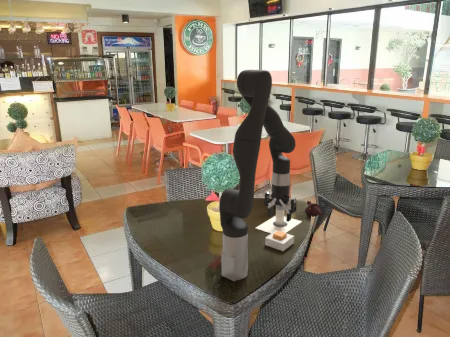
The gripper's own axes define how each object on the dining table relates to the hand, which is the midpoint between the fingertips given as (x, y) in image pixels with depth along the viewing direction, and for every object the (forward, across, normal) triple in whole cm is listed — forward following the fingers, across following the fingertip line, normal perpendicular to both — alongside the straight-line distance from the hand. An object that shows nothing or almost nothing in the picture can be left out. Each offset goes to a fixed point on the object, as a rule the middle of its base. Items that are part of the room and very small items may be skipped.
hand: (279, 218), depth 160 cm
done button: (+9, 0, 0) cm, 9 cm away
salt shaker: (+12, -10, +17) cm, 23 cm away
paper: (+12, -9, +16) cm, 22 cm away
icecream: (+12, -1, +36) cm, 38 cm away
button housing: (+12, 0, 0) cm, 12 cm away
